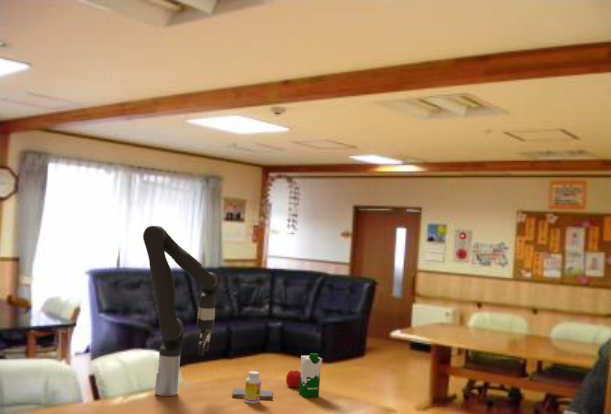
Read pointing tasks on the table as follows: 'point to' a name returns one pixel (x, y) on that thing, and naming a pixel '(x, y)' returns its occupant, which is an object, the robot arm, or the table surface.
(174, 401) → the table surface
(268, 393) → the mat
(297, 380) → the tomato
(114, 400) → the table surface
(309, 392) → the milk carton
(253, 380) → the supplement bottle
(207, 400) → the table surface
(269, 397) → the rail
